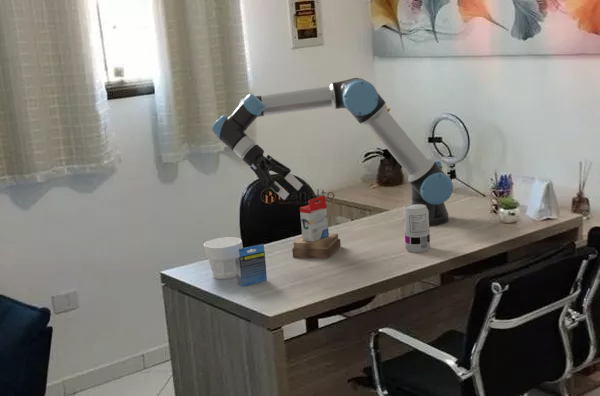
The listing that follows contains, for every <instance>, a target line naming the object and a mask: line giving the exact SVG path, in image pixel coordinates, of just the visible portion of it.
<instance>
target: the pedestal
mask: <svg viewBox="0 0 600 396" xmlns="http://www.w3.org/2000/svg"><path fill="white" fill-rule="evenodd" d="M341 244H342V243H341V238H339V234H338V233H329V236H328V237H325V238H322V239H319V240H317V241H314V242H310V241H304V240H303V238H302V236H300V237H299V238H298V239H297V240H295V241H294V242H293V248H292V249H291V251H292V258H307V259H330V258H331V257H332V256H333V255H334V254H336V252H337V251H338V250H340V249H341V247H342V245H341Z"/></svg>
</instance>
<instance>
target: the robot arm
mask: <svg viewBox="0 0 600 396" xmlns="http://www.w3.org/2000/svg"><path fill="white" fill-rule="evenodd" d="M386 103H387V102H386V101H385V100H384V99H383V97H382V96H381V94H379V92H378V90H377V89H376V87H375V86H374V85H373V83H371V82H369V81H368V80H365V79H363V78H359V77H353V78H349V79H345V80H341V81H335V82H331V83H330V84H329V85H325V86H321V87H319V86H318V87H313V88H305V89H298V90H292V91H284V92H277V93H270V94H269V93H268V94H262V95H254V94H253V93H250V94H247V95H246V96H243V98H241V99H240V100H239V101H238V104H237V107H236V108H235V109H234V111H233V112H232V113H231V114H230V115H229V116H227V115H226V114H225V115H221V116H220V117H219V118H218V119H217V120H215V122H214V123H213V125H212V126H211V132H212V133H213V134H214V135H215V136H216V137H217V138H218V140H220V141H221V142H222V143H224V144H225V146H227V147H228V148H229V149H230V150H231V151H232V152H234V153H235V155H236V156H238V157H239V158H240V159H242V160H243V162H244V163H245V164H246V165H247V166H248V167H249V168H250V169H251V170H252V171H253V172H254V173H255V175H256V177H257V178H258V180H259V181H260V183H261V184H262V186H263V187H265V188H266V189H268V190H269V189H271V190H272V191H273V192H275V193H276V194H277V195H278V196H279V197H280V198H281V199H282V200H283V201H285V200H286V199H287V198H288V197H289V195H290V193H289V192H288V191H287V190H286V189H285V188H284V187H283V186H281V185H280V183H278V182H277V181H274V179H273V177H272V175H271V173H270V172H272V173H275V174H277V175H279V176H281V177H283V178H284V180H286V182H287V183H288V184H290V185H291V186H292V187H293V188H294V189H295V190H296V191H299V190H300V189H301V188H302V187H303V186H304V184H303V183H302V182H301V181H299V180H298V179H297V178H296V177H295V176H294V175H293V174H292V173H291V172H292V170H291V169H290V167H288V166H286V165H285V164H283V163H281V161H278V160H277V159H275V158H273V156H271V155H269V154H267V156H264V153H265V150H264V149H263V148H262V147H261V146H260V145H259V144H256V142H255V140H253V139H252V138H251V137H250V136H249V135H248V134H247V133H245V132H246V130H247V129H248V128H249V127H250V126H251V125H252V124H253V123H254V121H255V120H256V119H257V118H260V117H266V116H272V115H280V114H287V113H294V112H295V113H296V112H303V111H310V110H317V109H318V110H319V109H325V108H333V109H334V110H339V109H347V111H348V112H350V114H351V115H352V116H353V117H354V119H355V120H356V121H357V122H358V123H359V124H360V125H366V126H367V127H368V128H369V130H370V131H371V132H372V133H373V134H374V135H375V137H376V138H377V139H378V140H379V141H380V142H381V144H382V145H383V146H384V147H385V149H386V150H388V152H389V153H390V154H391V155H392V157H394V159H395V160H396V161H397V163H398V164H399V165H400V166H401V167H402V168H403V170H405V172H406V173H407V175H408V179H407V181H408V182H409V184H410V187H411V204H410V205H412V204H423V205H426V207H427V209H428V212H429V227H430V226H437V225H442V224H445V223H447V222H449V220H450V219H449V213H448V210H447V207H446V204H445V202H447V201H448V200H449V199H450V197H451V196H452V193H453V191H454V186H453V181H452V179H451V178H450V176H449V175H448V174H446V173H445V172H444V170H443V165H442V162H441V161H440V160H434V159H428V158H427V157H426V156H425V155H424V154H423V152H422V151H421V150H420V149H419V147H417V145H416V144H415V142H414V141H413V140H412V139H411V138H410V136H409V135H408V134H407V133H406V132H405V131H404V129H403V128H402V127H401V125H399V123H398V122H397V121H396V119H394V117H393V116H392V115H391V114H390V113H389V111H388V110H387V109H386V105H387V104H386Z"/></svg>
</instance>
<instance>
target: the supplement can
mask: <svg viewBox="0 0 600 396" xmlns="http://www.w3.org/2000/svg"><path fill="white" fill-rule="evenodd" d="M411 204H412V203H411ZM411 204H408V205H406V206H404V207H405V208H404V209H403V224H404V226H403V228H404V242H405V244H404V245H405V246H404V248H405V249H406V250H407V252H409V253H414V254H417V253H425V252H428V251H429V249H430V248H431V237H430V226H429V212H428V209H427V207H426V205H423V204H412V205H411Z"/></svg>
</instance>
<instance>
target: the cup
mask: <svg viewBox="0 0 600 396" xmlns="http://www.w3.org/2000/svg"><path fill="white" fill-rule="evenodd" d="M203 248H204V252H205V256H206V258H207V259H208V261H209V262H208V263H209V265H210V269H211V271H212V276H213V279H217V280H227V279H232V278H237V276H236V265H235V259H236V258H238V257H239V251H238V249H241V248H243V241H242V238H239V237H234V236H227V237H226V236H223V237H217V238H212V239H209V240H207V241H205V242H204V243H203Z"/></svg>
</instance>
